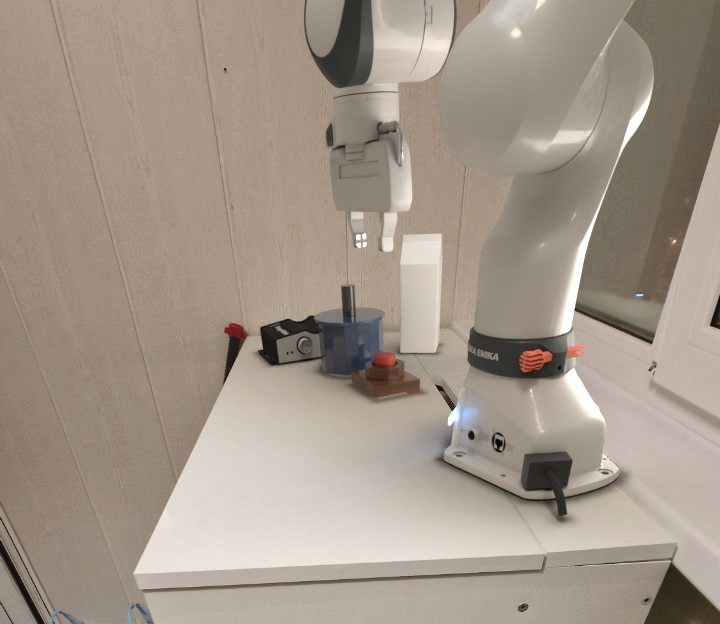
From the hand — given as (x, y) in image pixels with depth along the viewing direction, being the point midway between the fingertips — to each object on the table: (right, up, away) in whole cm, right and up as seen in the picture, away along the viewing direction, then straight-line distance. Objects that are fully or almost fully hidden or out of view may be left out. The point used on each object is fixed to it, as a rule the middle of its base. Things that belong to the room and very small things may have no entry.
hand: (372, 249), depth 85 cm
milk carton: (+10, -1, +28) cm, 30 cm away
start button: (+2, -14, +8) cm, 16 cm away
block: (+2, -17, +10) cm, 20 cm away
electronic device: (-12, 0, +31) cm, 33 cm away
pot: (-3, -8, +20) cm, 22 cm away
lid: (-4, -2, +14) cm, 15 cm away
